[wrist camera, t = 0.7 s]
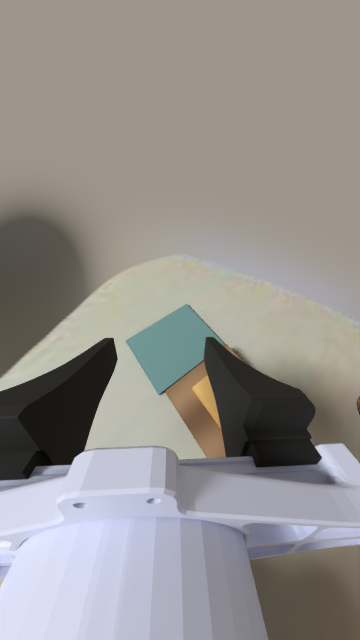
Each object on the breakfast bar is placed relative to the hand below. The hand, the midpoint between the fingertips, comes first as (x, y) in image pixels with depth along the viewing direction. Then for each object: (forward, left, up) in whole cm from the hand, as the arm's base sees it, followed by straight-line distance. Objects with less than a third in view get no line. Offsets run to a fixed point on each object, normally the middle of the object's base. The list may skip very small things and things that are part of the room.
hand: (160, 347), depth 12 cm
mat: (+5, -5, -15) cm, 17 cm away
